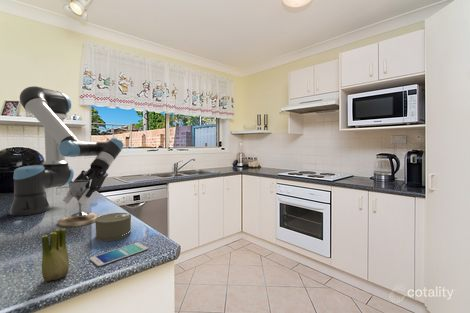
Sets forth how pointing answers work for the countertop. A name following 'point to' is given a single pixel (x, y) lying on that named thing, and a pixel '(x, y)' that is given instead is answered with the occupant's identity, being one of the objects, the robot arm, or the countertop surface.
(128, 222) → the can
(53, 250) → the fennel bulb
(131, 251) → the smartphone
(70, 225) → the trivet
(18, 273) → the countertop surface
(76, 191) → the wine glass
